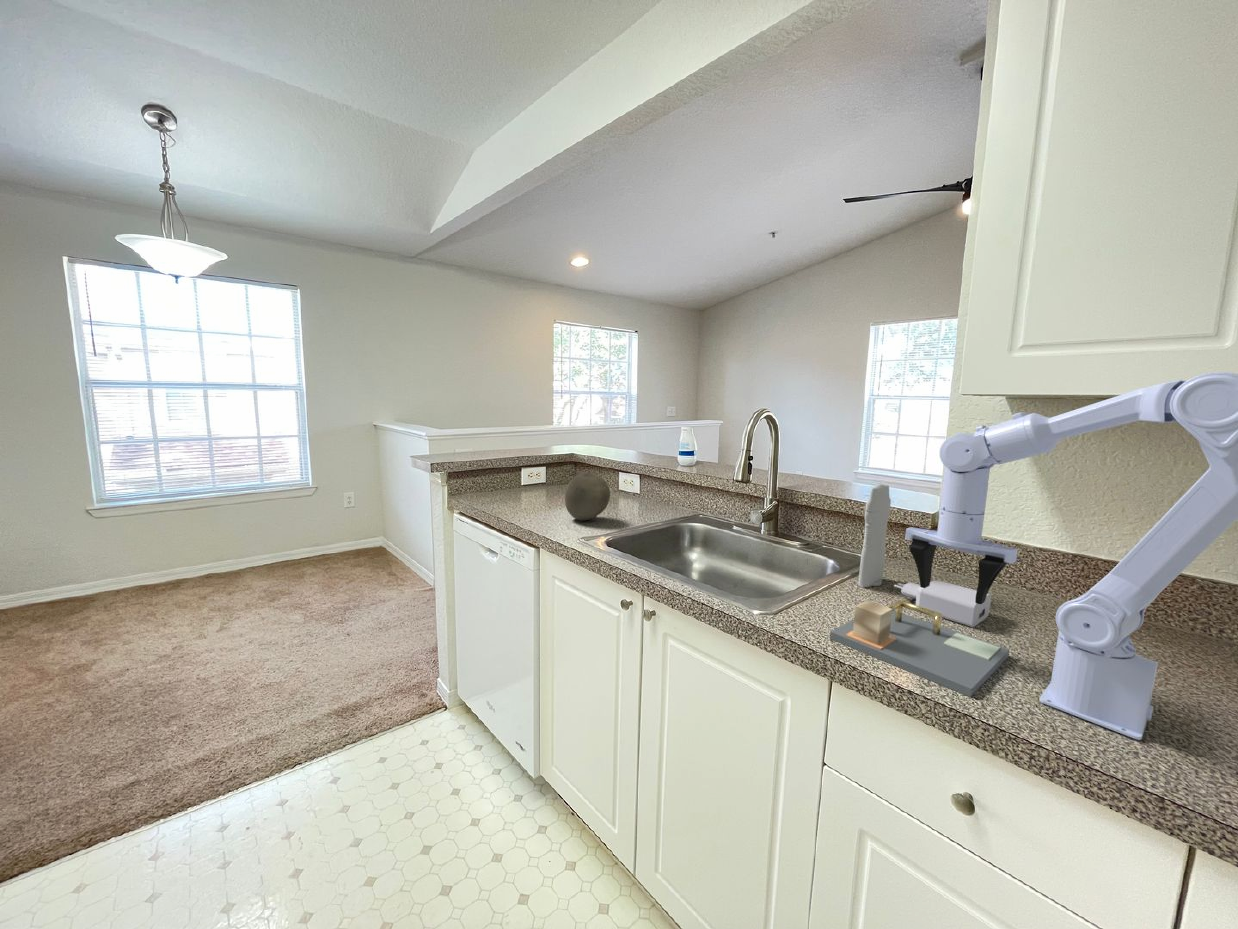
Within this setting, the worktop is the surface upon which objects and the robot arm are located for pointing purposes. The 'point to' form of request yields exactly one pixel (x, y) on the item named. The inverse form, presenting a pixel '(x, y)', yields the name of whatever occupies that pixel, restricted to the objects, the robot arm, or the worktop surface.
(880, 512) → the grey tall flat piece
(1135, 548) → the robot arm
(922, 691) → the worktop surface
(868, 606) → the block
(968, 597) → the charger
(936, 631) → the brass corner pipe rail
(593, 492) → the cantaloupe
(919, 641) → the board
